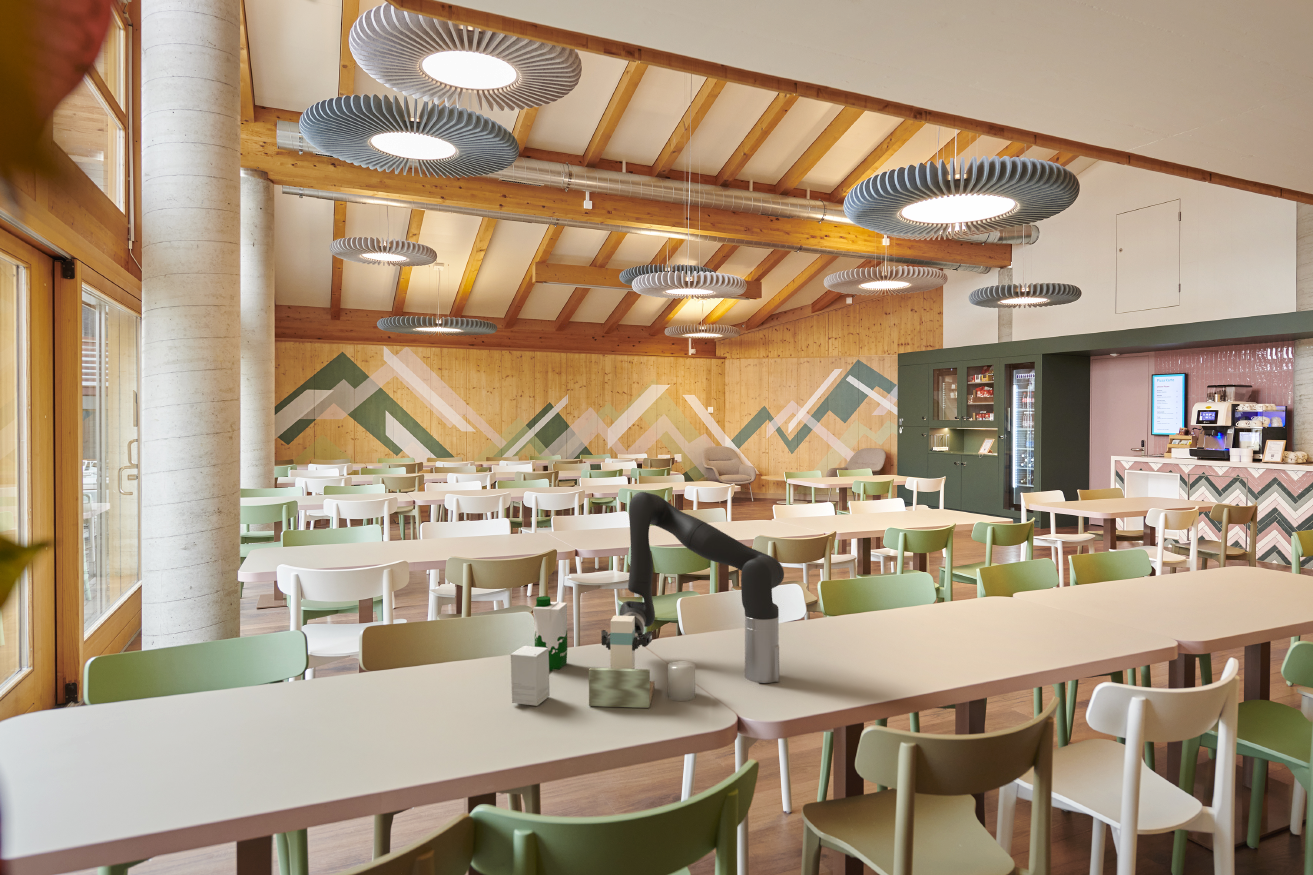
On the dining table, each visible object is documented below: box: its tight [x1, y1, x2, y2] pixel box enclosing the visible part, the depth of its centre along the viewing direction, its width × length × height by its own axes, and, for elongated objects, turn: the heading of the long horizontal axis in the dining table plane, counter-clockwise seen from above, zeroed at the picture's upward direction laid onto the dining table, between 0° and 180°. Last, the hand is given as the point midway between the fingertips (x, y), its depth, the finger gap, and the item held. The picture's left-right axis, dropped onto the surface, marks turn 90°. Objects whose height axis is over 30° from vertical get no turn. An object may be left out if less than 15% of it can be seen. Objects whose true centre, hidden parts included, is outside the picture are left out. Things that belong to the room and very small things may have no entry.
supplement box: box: [510, 645, 551, 707], centre depth 196 cm, size 7×7×13 cm
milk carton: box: [532, 595, 568, 672], centre depth 223 cm, size 9×9×20 cm
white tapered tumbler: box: [667, 660, 696, 702], centre depth 199 cm, size 7×7×8 cm
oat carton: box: [609, 615, 636, 669], centre depth 199 cm, size 6×6×14 cm
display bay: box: [588, 667, 656, 709], centre depth 198 cm, size 15×14×9 cm
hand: (621, 646), depth 197 cm, fingers closed on oat carton, 5 cm apart
